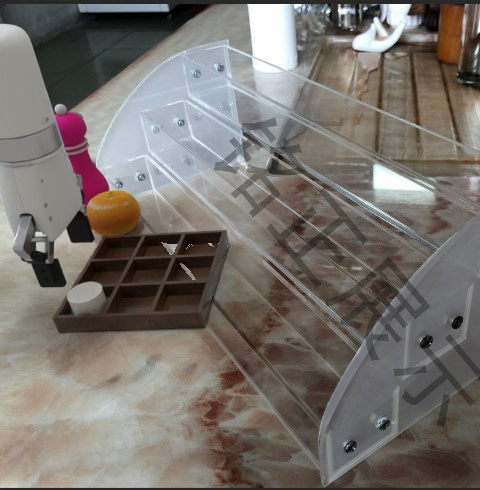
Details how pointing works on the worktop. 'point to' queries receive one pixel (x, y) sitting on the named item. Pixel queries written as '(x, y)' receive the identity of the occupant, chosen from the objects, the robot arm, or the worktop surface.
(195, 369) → the worktop surface
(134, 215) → the fruit
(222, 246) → the board
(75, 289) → the white cylinder puck
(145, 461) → the worktop surface
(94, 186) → the pink pepper grinder
